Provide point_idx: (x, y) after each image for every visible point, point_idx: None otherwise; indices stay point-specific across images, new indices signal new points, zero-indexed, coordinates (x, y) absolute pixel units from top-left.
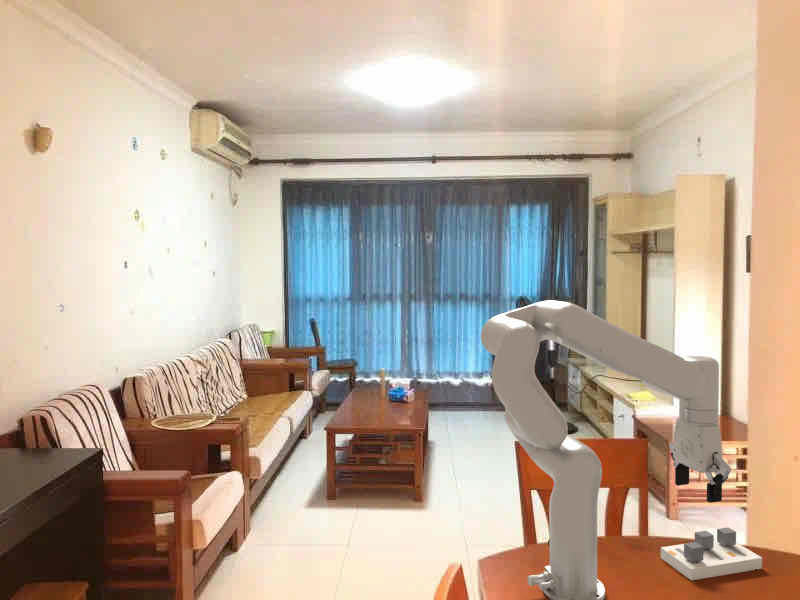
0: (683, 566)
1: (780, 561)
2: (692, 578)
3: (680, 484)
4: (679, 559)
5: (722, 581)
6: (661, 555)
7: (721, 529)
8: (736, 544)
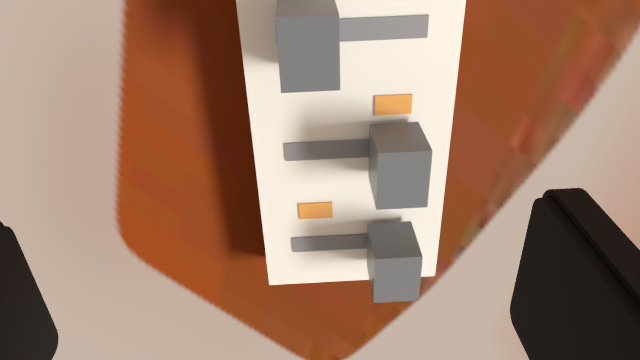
0: None
1: (299, 326)
2: None
3: (530, 229)
4: None
5: (212, 81)
6: None
7: (412, 268)
8: None
